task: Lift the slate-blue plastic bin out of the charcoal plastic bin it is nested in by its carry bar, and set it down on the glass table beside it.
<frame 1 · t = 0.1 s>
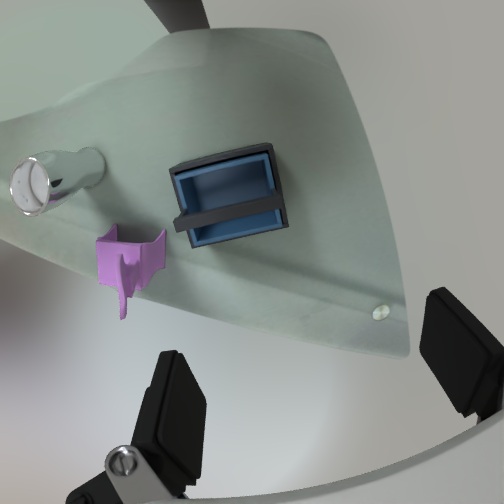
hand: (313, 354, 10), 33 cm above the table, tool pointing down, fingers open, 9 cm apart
charcoal bin: (231, 187, 40), on the table
blue bin: (231, 188, 39), point 1 cm above the table, touching charcoal bin
beer glass: (89, 166, 38), on the table
toy chair: (138, 245, 43), on the table
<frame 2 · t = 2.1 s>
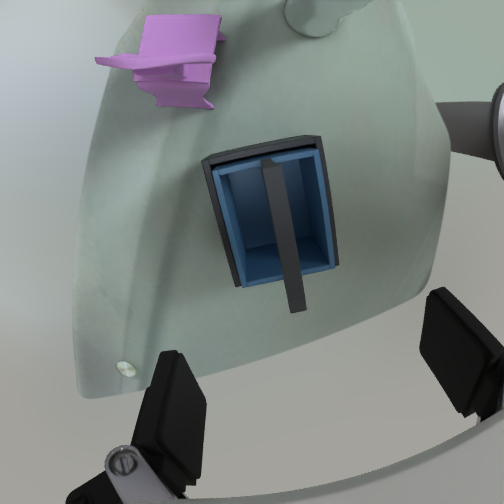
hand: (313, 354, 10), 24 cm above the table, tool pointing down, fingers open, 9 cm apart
charcoal bin: (269, 198, 32), on the table
blue bin: (270, 200, 31), point 1 cm above the table, touching charcoal bin
beer glass: (311, 15, 23), on the table
toy chair: (190, 68, 26), on the table
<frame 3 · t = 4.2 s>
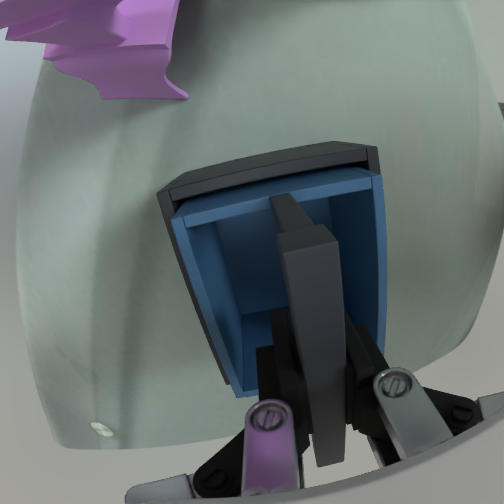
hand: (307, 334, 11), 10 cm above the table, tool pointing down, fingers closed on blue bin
charcoal bin: (277, 240, 21), on the table
blue bin: (278, 243, 20), point 1 cm above the table, touching charcoal bin, gripper
toy chair: (153, 39, 15), on the table
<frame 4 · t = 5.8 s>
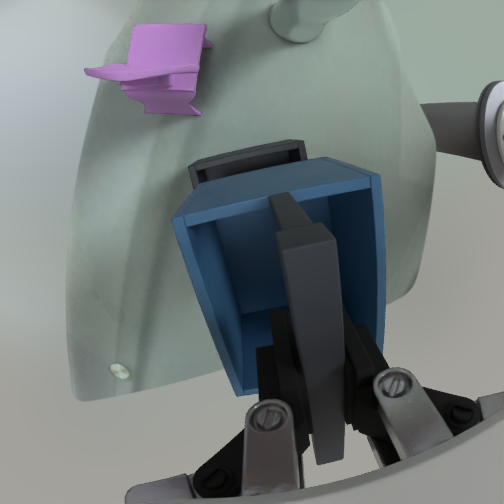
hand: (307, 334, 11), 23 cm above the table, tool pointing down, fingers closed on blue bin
charcoal bin: (256, 202, 32), on the table
blue bin: (278, 243, 20), point 13 cm above the table, touching gripper
beer glass: (296, 21, 25), on the table
toy chair: (178, 75, 27), on the table
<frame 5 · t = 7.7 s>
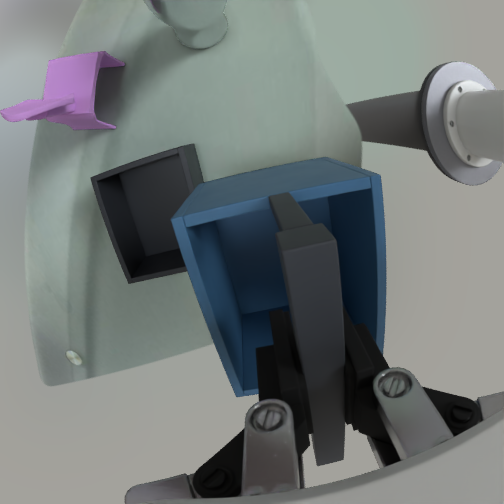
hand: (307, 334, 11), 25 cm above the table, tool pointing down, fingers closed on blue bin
charcoal bin: (166, 204, 34), on the table
blue bin: (278, 243, 20), point 15 cm above the table, touching gripper
beer glass: (201, 27, 26), on the table
toy chair: (98, 94, 28), on the table
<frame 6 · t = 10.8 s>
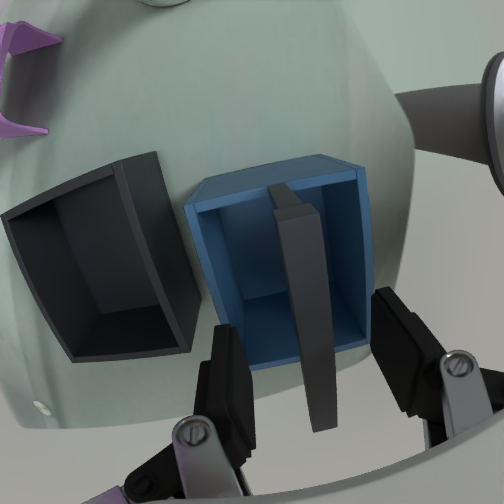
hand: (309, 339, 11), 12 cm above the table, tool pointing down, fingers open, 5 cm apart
charcoal bin: (120, 245, 22), on the table
blue bin: (277, 233, 22), on the table
toy chair: (29, 86, 16), on the table
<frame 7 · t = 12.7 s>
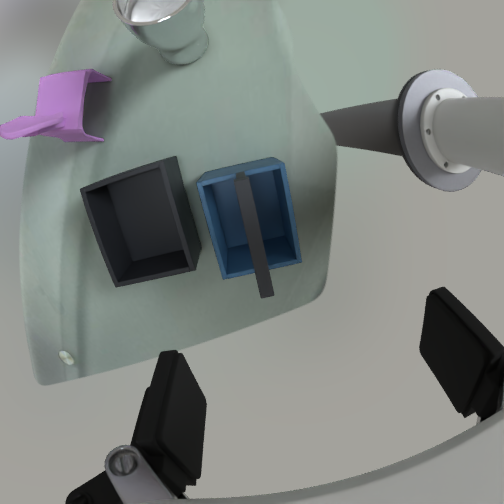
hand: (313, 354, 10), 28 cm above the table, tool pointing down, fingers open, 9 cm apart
charcoal bin: (150, 213, 36), on the table
blue bin: (248, 205, 36), on the table
beer glass: (183, 43, 28), on the table
toy chair: (87, 108, 30), on the table
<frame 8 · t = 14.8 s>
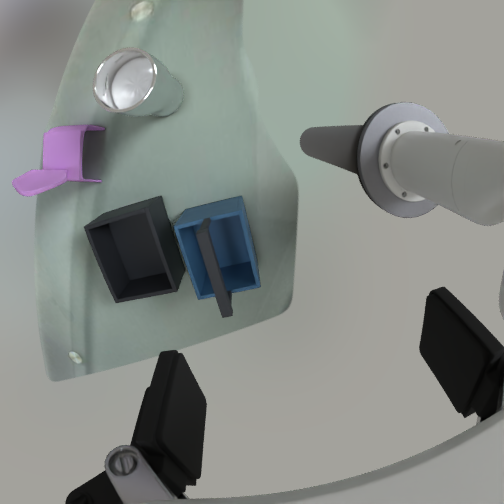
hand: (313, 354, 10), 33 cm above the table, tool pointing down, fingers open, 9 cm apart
charcoal bin: (143, 241, 43), on the table
blue bin: (222, 235, 43), on the table
beer glass: (163, 96, 35), on the table
toy chair: (86, 153, 37), on the table
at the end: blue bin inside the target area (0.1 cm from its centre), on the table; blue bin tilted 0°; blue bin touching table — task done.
